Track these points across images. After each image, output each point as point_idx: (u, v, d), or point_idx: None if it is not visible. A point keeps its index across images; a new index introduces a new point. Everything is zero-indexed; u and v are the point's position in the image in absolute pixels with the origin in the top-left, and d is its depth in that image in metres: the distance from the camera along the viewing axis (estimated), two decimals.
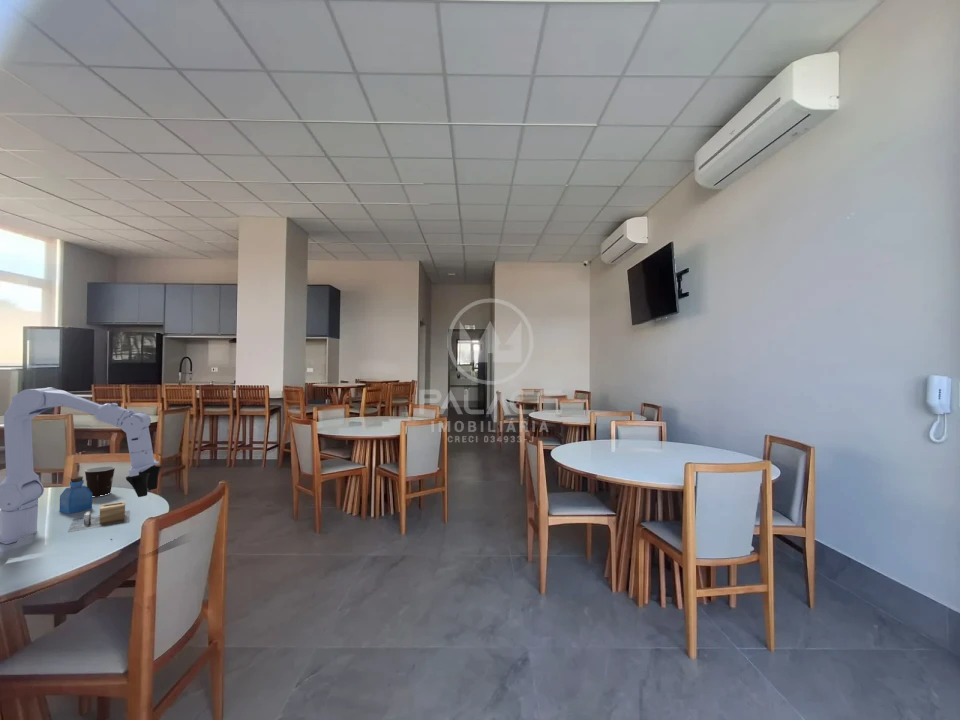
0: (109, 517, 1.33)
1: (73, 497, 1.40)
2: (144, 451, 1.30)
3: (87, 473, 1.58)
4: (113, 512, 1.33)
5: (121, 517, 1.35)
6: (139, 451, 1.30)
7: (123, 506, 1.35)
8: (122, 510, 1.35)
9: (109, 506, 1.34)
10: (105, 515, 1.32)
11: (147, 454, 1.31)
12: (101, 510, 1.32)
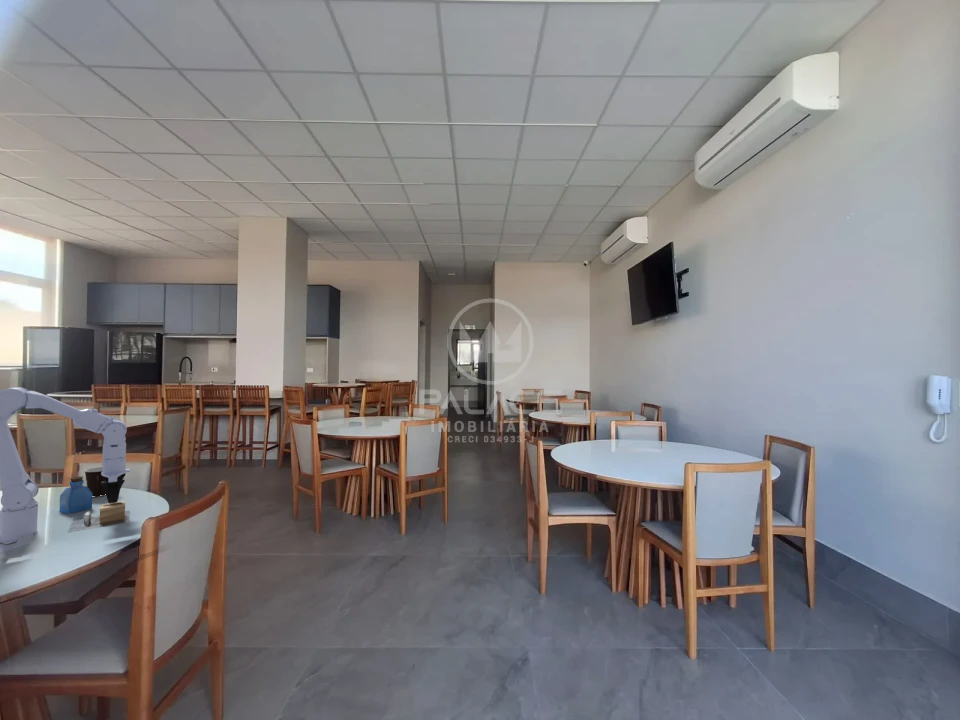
0: (109, 517, 1.33)
1: (73, 497, 1.40)
2: (121, 458, 1.35)
3: (87, 473, 1.58)
4: (113, 512, 1.33)
5: (121, 517, 1.35)
6: (116, 458, 1.34)
7: (123, 506, 1.35)
8: (122, 510, 1.35)
9: (109, 506, 1.34)
10: (105, 515, 1.32)
11: (122, 462, 1.35)
12: (101, 510, 1.32)
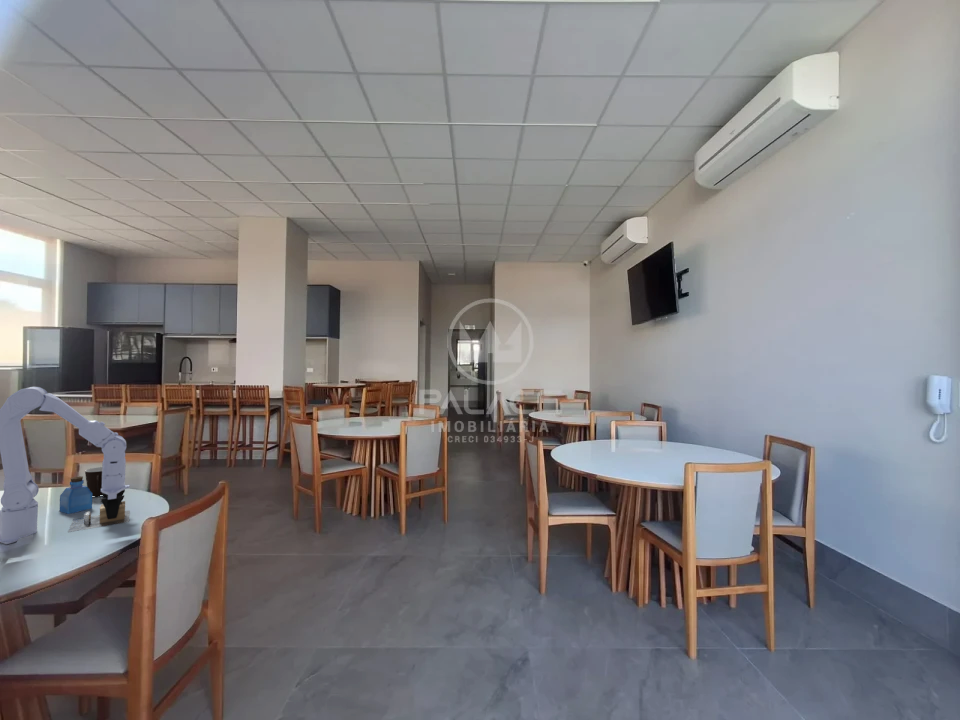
0: None
1: (73, 497, 1.40)
2: (120, 474, 1.35)
3: (87, 473, 1.58)
4: None
5: (121, 517, 1.35)
6: (116, 474, 1.34)
7: (123, 506, 1.35)
8: (122, 510, 1.35)
9: None
10: (105, 515, 1.32)
11: (122, 478, 1.35)
12: (101, 510, 1.32)
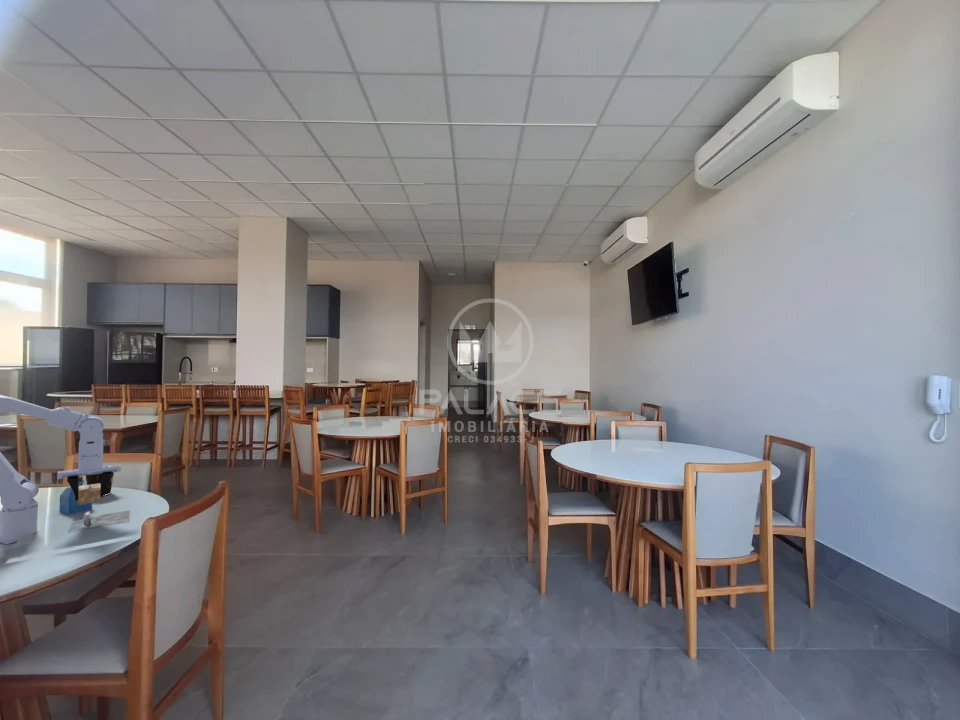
0: None
1: (73, 497, 1.40)
2: (80, 457, 1.29)
3: None
4: None
5: (78, 502, 1.28)
6: (93, 455, 1.30)
7: None
8: (78, 495, 1.28)
9: (83, 487, 1.31)
10: None
11: (82, 461, 1.29)
12: None
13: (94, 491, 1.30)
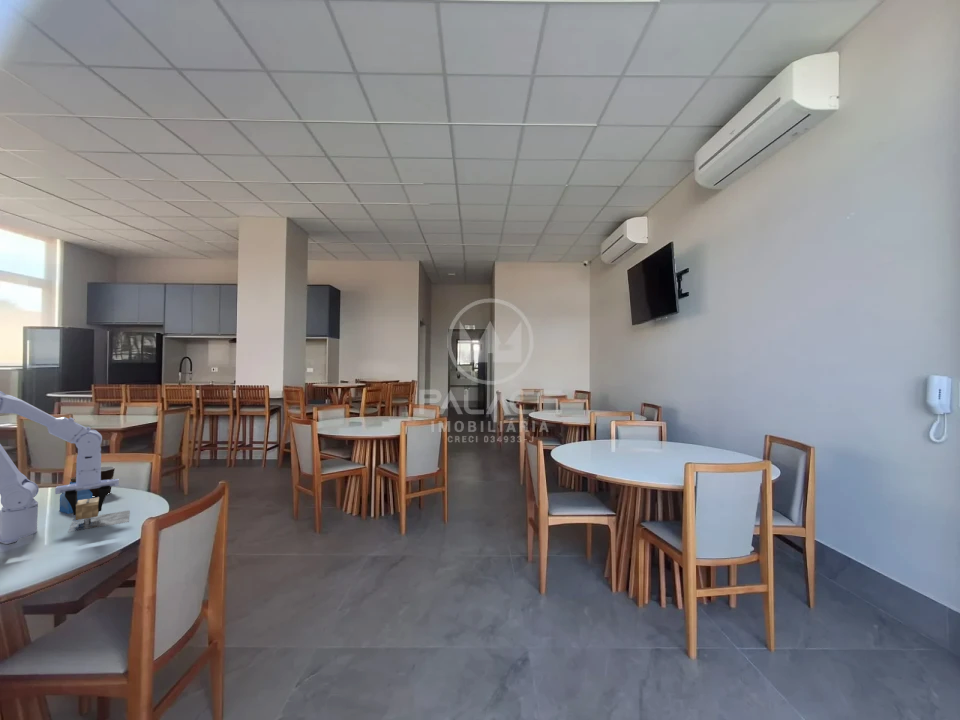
0: None
1: None
2: (78, 471, 1.29)
3: None
4: None
5: None
6: (90, 470, 1.30)
7: None
8: None
9: (81, 501, 1.31)
10: None
11: (80, 476, 1.29)
12: None
13: (91, 506, 1.30)
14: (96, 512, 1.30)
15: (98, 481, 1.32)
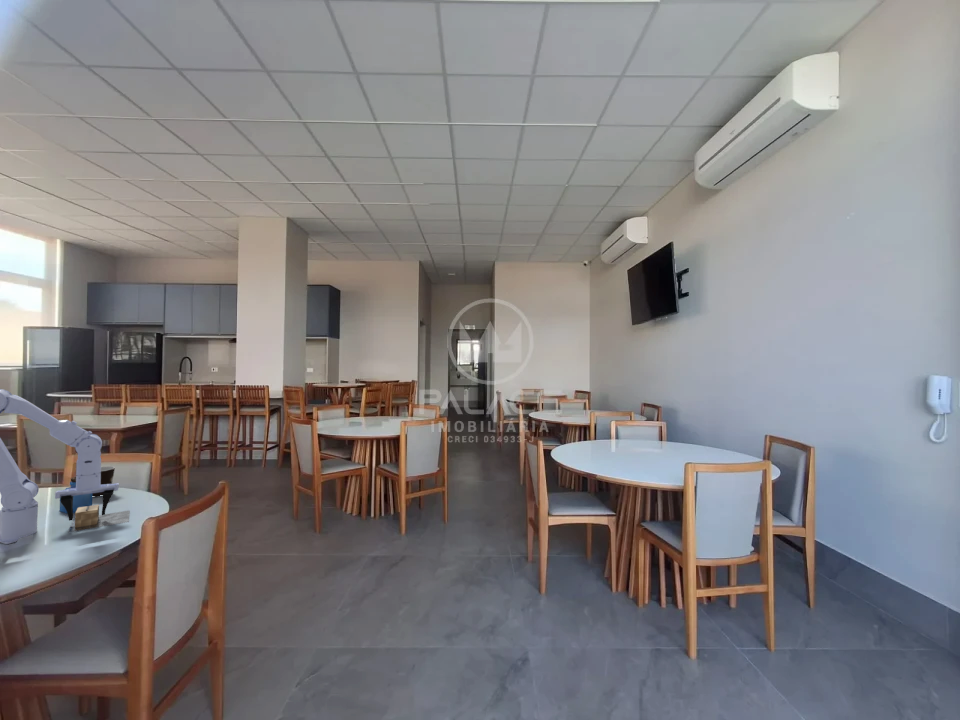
0: None
1: (73, 497, 1.40)
2: (78, 476, 1.29)
3: None
4: None
5: (75, 524, 1.28)
6: (90, 474, 1.30)
7: (75, 514, 1.28)
8: (75, 517, 1.28)
9: (81, 508, 1.31)
10: None
11: (79, 480, 1.29)
12: None
13: (91, 513, 1.30)
14: (95, 520, 1.30)
15: (98, 485, 1.32)
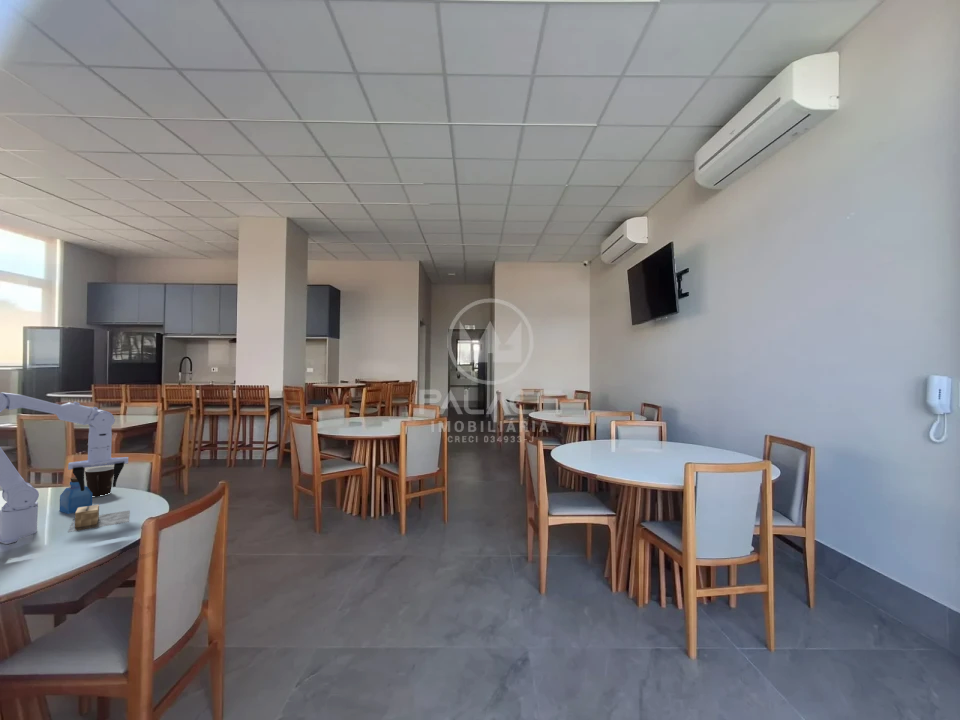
0: None
1: (73, 497, 1.40)
2: (90, 448, 1.34)
3: (87, 473, 1.58)
4: None
5: (75, 524, 1.28)
6: (105, 446, 1.36)
7: (75, 514, 1.28)
8: (75, 517, 1.28)
9: (81, 508, 1.31)
10: None
11: (91, 452, 1.34)
12: None
13: (91, 513, 1.30)
14: (95, 520, 1.30)
15: (109, 458, 1.37)
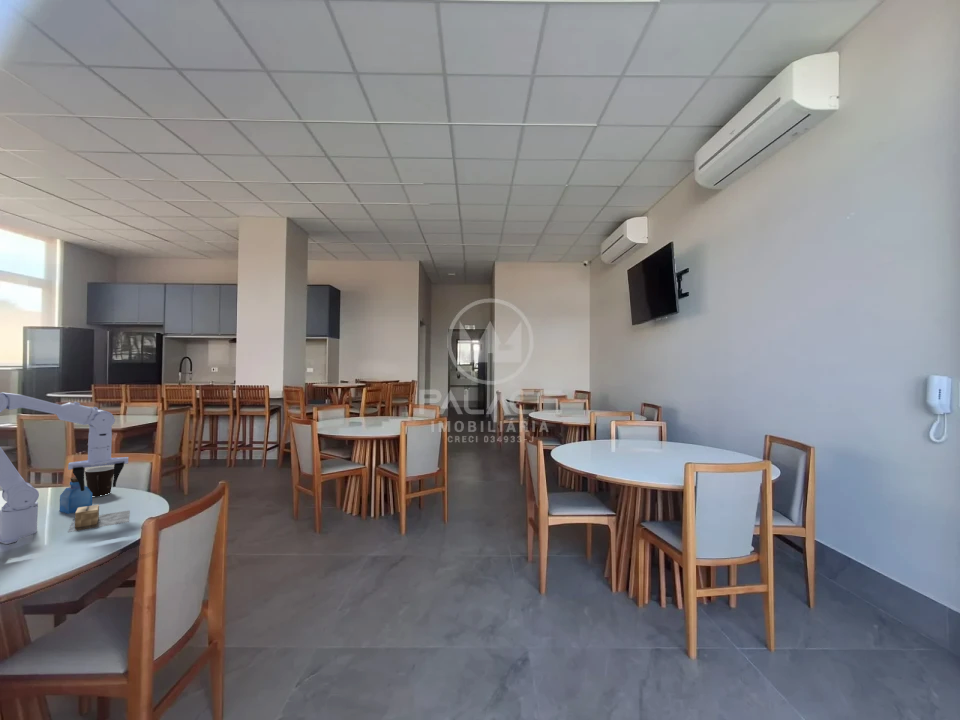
0: None
1: (73, 497, 1.40)
2: (90, 448, 1.34)
3: (87, 473, 1.58)
4: None
5: (75, 524, 1.28)
6: (105, 446, 1.36)
7: (75, 514, 1.28)
8: (75, 517, 1.28)
9: (81, 508, 1.31)
10: None
11: (91, 452, 1.34)
12: None
13: (91, 513, 1.30)
14: (95, 520, 1.30)
15: (109, 458, 1.37)
